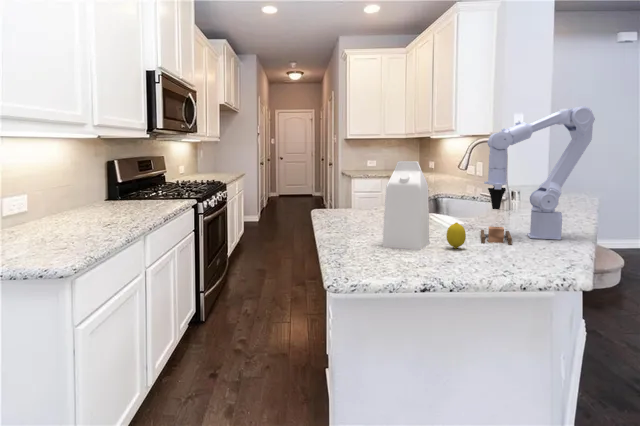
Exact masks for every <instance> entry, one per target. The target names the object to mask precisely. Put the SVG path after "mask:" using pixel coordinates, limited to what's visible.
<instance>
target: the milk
mask: <svg viewBox="0 0 640 426" xmlns="http://www.w3.org/2000/svg"><path fill="white" fill-rule="evenodd" d="M429 202H430V201H429V184H428V182H427V179H426V177H425V174H424V172H423V171H422V168H421V166H420V162H419V161H413V160H412V161H411V160H410V161H409V160H408V161H407V160H406V161H404V160H403V161H397V163H396V165H395V168H394V170H393V172H392V174H391V175H390V177H389V179H388V182H387V185H386V188H385V199H384V213H383V214H384V216H383V228H382V246H381V247H383V248H390V249H391V248H392V249H393V248H394V249H402V250H403V249H406V250H415V251H421V249H422V250H423V249H424V248H425V247H426V246H428V245H429V244H430V213H429V212H430V208H429V206H430V205H429ZM427 244H428V245H427Z"/></svg>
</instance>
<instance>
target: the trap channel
mask: <svg viewBox="0 0 640 426" xmlns="http://www.w3.org/2000/svg"><path fill="white" fill-rule="evenodd" d="M512 237H513V236H512V235H511V233H510V231H509V230H505V233H504V239H506V242H507V244H508V245H509V246H510V245H511V246H512V245H513V238H512ZM486 239H488V233H485V229H480V241H481V242H480V243H481V244H485V242H486Z"/></svg>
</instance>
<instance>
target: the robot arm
mask: <svg viewBox="0 0 640 426" xmlns="http://www.w3.org/2000/svg"><path fill="white" fill-rule="evenodd" d="M594 115H595V114H594V113H593V111H592V110H591V108H590V107H588V106H586V105H581V106H580V105H579V106H577V107H569V108H567V109H563V110H559V111H556V112H553V113H550V114H549V115H546V116H543V117H542V118H539V119H537V120H534V121H532V122H530V123H527V122H525V121H522V122H521V121H517V122H515V123H514V125H512V126H510V127H507V128H505V127H504V128H501V131H498V132H494V133H492V134H491V135H490V136H489V137H488V140H487V142H486V143H487V145H488V148H489V154H488V174H487V178H488V179H487V181H484V183H483V184H485V185H489V186H490V185H491V186H492V187H488V188H487V190H488V192H489V196H490V201H491V208H492V210H500V208H501V204H502V199H503V196H504V194H505V193H506V191H507V189H506V187H502V186H506V185H508V182H507V175H508V173H507V171H508V148H509V147H510V146H513V145H516V144H518V143H520V142H523V141H526V140H528V139H530V138H531V137H532V135H533V133H536V132H538V131H540V130H543V129H546V128H549V127H552V126H555V125H561V126H564V127H565V129H566V130H567V131H568V133H569V136H570V137H571V140H570V141H569V143H568V145H566V146H567V147H566V148H565V149H564V151H563V152H562V155H561V156H560V157H559V159H558V161H557V163H556V164H555V165H554V167H553V169H552V170H551V171H550V174H549V175H548V177H547V179H546V180H544V182H543V183H541V184H540V185H539V187H538V188H537V189H536V190H534V191H533V192H532V193H531V194H530V195H529V203H530V205H531V206H532V207H531V209H530V210H531V212H530V225H529V226H530V227H529V228H530V229H529V232H527V235H528V237H529V239H538V240H539V239H540V240H541V239H543V240H559V241H560V240H562V229H563V228H562V227H563V214H562V213H563V212H562V211H556V208H557V207H558V205H559V199H560V197H561V195H562V187H563V185H564V184H565V183H566V181H567V179H568V178H569V176H570V174H571V173H572V172H573V170H574V169H575V166H576V165H577V164H578V162H579V161H580V159H581V157H582V155H584V153H585V151H586V149H587V148H588V147H589V145H590V144H591V142H592V140H593V126H594V122H595V121H596V117H595V116H594Z"/></svg>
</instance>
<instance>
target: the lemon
mask: <svg viewBox="0 0 640 426" xmlns="http://www.w3.org/2000/svg"><path fill="white" fill-rule="evenodd" d="M466 239H467V234H466V229H465V227H464V226H463V225H462V224H460V223H458V222H454V223H453V224H451V225H449V227H448V229H447V231H446V241H447V243H448V244H449V246H451V247H453V249H454V250H457V249H458V248H459V247H461V246H463V245H464V243H465V242H466Z"/></svg>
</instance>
